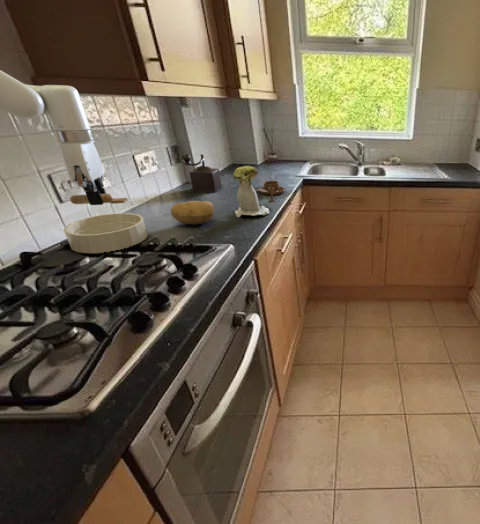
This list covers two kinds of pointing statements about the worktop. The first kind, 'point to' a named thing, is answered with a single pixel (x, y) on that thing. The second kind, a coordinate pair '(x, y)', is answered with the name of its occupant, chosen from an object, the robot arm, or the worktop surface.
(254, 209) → the vase of yellow flowers
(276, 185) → the place setting
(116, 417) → the worktop surface
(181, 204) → the potato
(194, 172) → the coffee grinder
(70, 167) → the robot arm
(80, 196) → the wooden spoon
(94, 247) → the bowl
